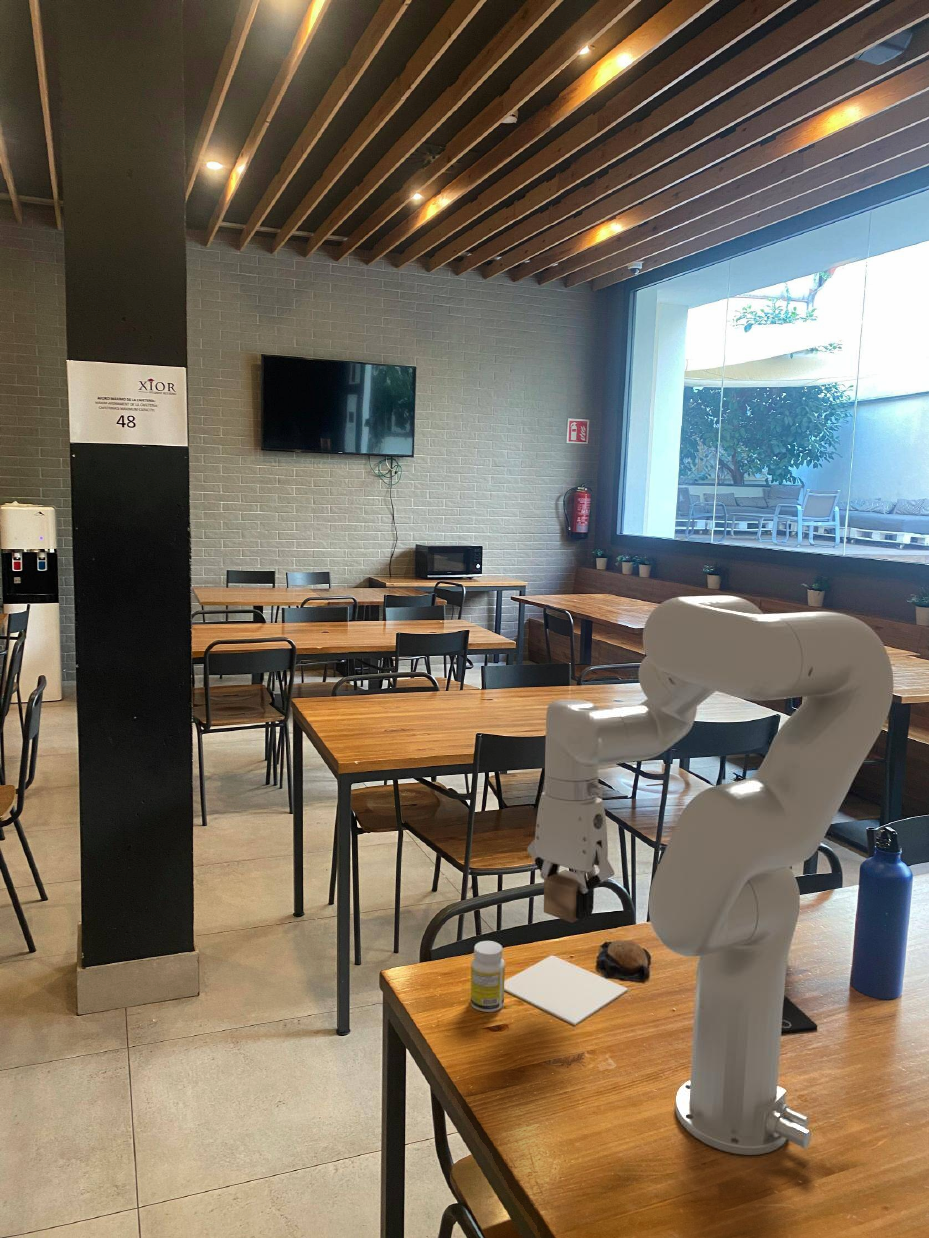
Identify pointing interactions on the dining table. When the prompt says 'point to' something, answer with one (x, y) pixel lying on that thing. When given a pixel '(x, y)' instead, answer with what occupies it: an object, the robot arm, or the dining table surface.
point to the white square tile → (563, 989)
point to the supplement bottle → (487, 977)
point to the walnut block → (561, 895)
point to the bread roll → (624, 961)
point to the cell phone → (795, 1019)
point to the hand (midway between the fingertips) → (568, 909)
